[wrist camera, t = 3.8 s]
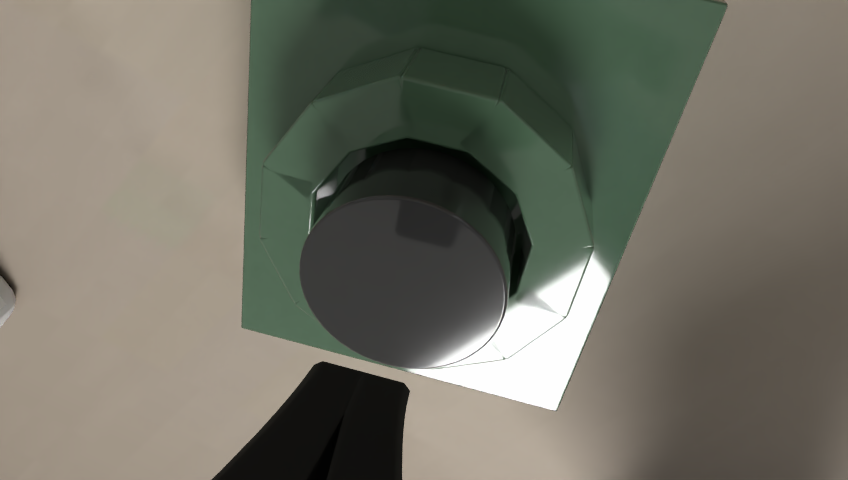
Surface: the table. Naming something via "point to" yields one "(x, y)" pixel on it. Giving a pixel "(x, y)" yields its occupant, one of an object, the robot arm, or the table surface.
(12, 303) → the eye dropper bottle
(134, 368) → the table surface
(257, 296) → the green button base
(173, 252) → the table surface
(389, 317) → the black push button
